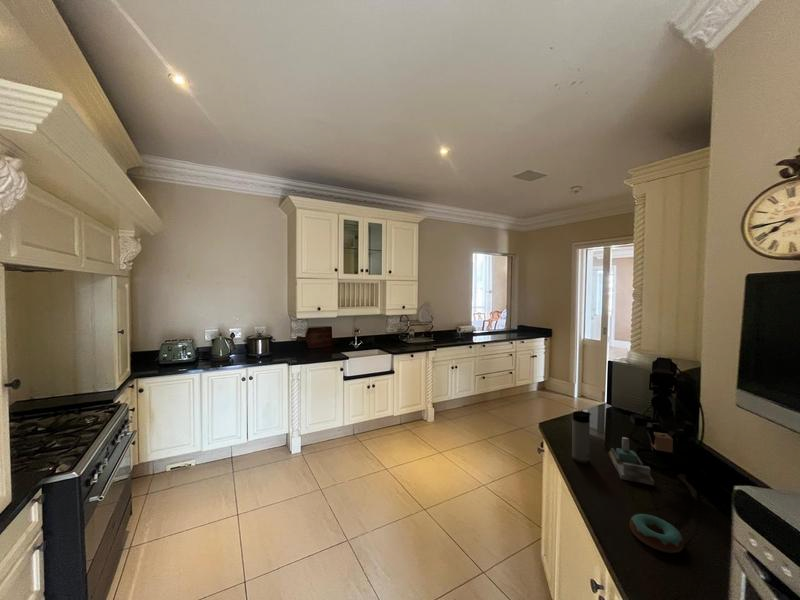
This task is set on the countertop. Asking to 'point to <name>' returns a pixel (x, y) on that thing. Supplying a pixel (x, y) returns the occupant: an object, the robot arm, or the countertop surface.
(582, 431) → the travel mug
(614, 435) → the countertop surface
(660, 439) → the box
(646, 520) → the donut
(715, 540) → the countertop surface
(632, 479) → the frame
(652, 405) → the robot arm
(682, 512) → the countertop surface
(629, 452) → the ram
